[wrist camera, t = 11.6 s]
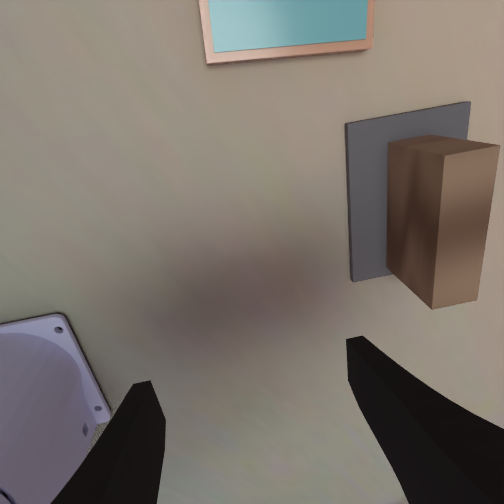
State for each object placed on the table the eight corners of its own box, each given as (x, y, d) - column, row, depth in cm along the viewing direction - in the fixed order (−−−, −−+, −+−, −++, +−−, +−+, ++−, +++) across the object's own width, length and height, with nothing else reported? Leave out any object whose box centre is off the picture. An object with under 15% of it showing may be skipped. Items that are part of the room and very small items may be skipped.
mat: (449, 259, 23) (453, 261, 23) (350, 279, 23) (353, 282, 23) (465, 101, 19) (470, 101, 19) (344, 123, 19) (347, 124, 18)
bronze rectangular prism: (422, 259, 22) (477, 300, 18) (386, 267, 22) (431, 309, 18) (430, 134, 19) (500, 145, 15) (387, 142, 19) (444, 155, 14)
